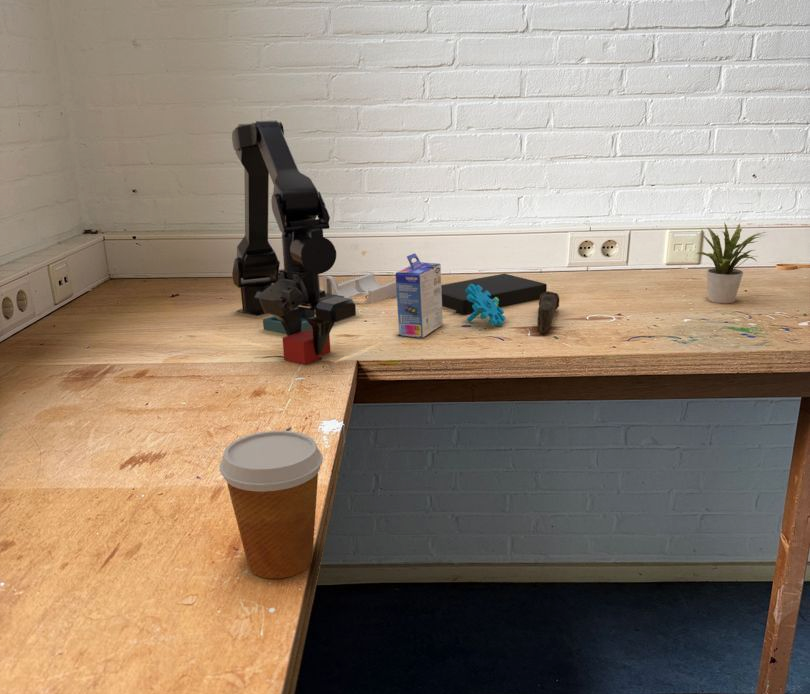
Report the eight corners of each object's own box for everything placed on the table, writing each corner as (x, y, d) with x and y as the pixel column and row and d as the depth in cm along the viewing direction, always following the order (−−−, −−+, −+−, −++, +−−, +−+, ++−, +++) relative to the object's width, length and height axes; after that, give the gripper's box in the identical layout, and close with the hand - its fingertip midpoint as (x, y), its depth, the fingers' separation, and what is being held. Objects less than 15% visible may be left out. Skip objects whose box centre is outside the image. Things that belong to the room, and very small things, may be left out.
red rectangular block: (284, 359, 137) (282, 337, 136) (309, 350, 142) (308, 328, 141) (305, 364, 135) (303, 342, 133) (330, 354, 140) (329, 332, 138)
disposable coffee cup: (211, 578, 75) (197, 463, 71) (262, 529, 84) (252, 423, 80) (300, 597, 72) (291, 478, 68) (345, 544, 80) (339, 435, 76)
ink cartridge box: (417, 322, 158) (416, 249, 153) (443, 325, 156) (442, 251, 151) (396, 335, 150) (393, 259, 145) (423, 338, 147) (421, 261, 142)
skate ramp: (372, 305, 171) (371, 282, 170) (323, 298, 178) (322, 276, 176) (409, 291, 183) (408, 269, 182) (361, 285, 190) (361, 264, 188)
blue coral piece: (494, 324, 149) (462, 283, 151) (472, 343, 152) (441, 302, 154) (517, 318, 158) (487, 279, 160) (496, 336, 161) (467, 298, 163)
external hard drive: (422, 301, 174) (422, 288, 172) (503, 286, 186) (503, 273, 185) (463, 314, 162) (463, 300, 161) (546, 297, 175) (547, 283, 174)
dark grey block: (305, 319, 160) (303, 299, 159) (326, 312, 165) (325, 293, 164) (323, 322, 158) (322, 302, 156) (344, 315, 162) (343, 296, 161)
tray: (263, 331, 154) (262, 319, 153) (324, 311, 168) (323, 300, 167) (295, 338, 149) (294, 325, 149) (356, 317, 163) (355, 305, 162)
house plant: (763, 312, 159) (774, 230, 153) (689, 308, 163) (697, 227, 157) (758, 295, 171) (768, 219, 166) (689, 292, 176) (697, 217, 170)
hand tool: (539, 309, 165) (540, 287, 164) (559, 310, 164) (559, 288, 163) (527, 335, 148) (527, 311, 147) (549, 336, 147) (550, 311, 145)
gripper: (226, 265, 132) (235, 355, 137) (309, 277, 122) (315, 374, 127) (274, 254, 141) (281, 339, 146) (355, 264, 130) (360, 355, 135)
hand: (307, 351), depth 138 cm, fingers closed on red rectangular block, 5 cm apart
